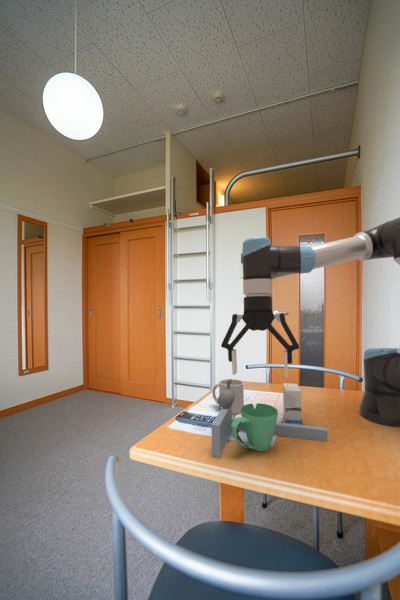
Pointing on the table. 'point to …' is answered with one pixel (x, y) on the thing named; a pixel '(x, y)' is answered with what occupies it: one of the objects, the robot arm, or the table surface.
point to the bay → (223, 429)
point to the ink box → (292, 404)
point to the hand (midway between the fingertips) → (259, 375)
